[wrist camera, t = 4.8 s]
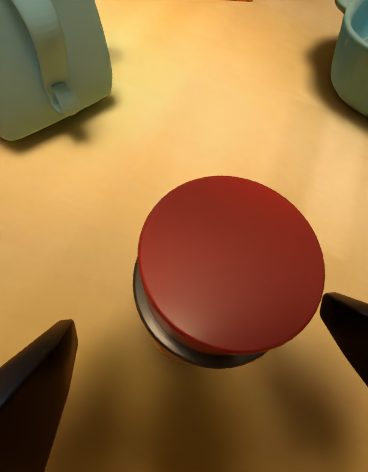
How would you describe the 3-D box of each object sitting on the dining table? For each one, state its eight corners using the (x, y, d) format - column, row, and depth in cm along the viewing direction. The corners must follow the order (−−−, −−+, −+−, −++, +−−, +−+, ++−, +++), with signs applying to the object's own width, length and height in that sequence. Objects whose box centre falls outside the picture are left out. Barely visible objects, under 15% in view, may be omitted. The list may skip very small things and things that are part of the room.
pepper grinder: (203, 374, 16) (322, 424, 4) (137, 342, 16) (75, 307, 5) (226, 305, 18) (351, 206, 6) (167, 279, 18) (177, 141, 7)
